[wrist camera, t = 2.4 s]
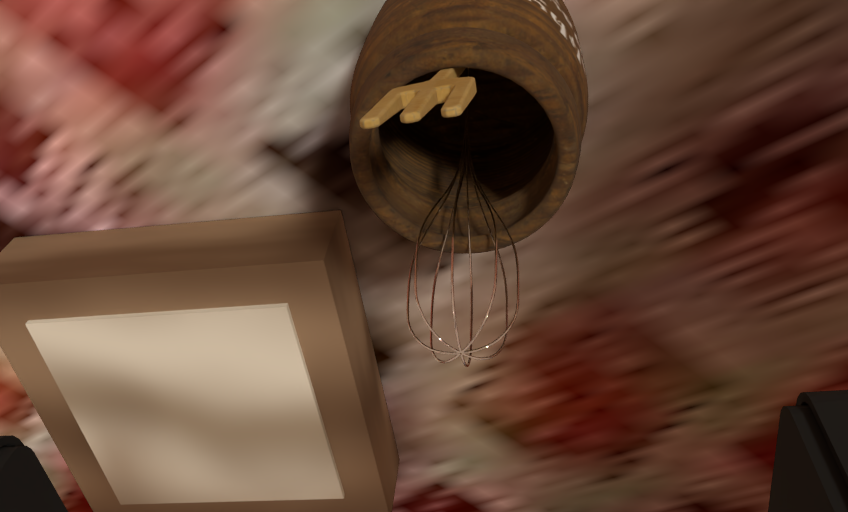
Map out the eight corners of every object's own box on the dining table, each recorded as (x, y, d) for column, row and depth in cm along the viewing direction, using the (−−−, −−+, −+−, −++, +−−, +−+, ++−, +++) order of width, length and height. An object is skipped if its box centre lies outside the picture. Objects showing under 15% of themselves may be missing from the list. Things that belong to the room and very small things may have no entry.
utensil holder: (396, 157, 25) (323, 436, 15) (349, -47, 22) (216, 141, 12) (585, 132, 24) (637, 415, 14) (566, -87, 21) (617, 85, 11)
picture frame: (14, 237, 28) (-37, 290, 26) (341, 210, 27) (322, 263, 24) (130, 469, 35) (99, 530, 32) (399, 459, 33) (389, 523, 30)
